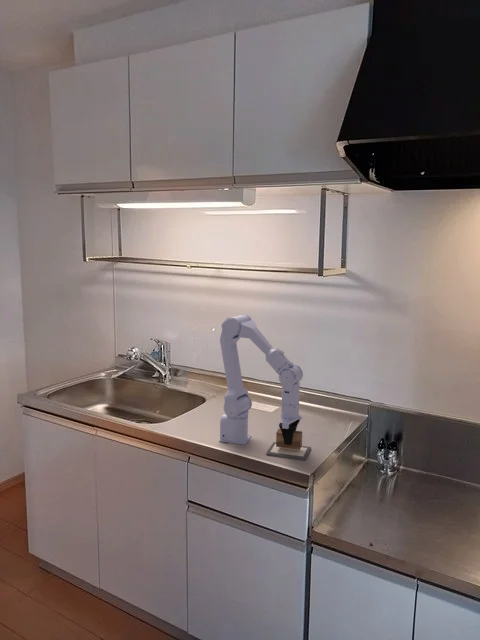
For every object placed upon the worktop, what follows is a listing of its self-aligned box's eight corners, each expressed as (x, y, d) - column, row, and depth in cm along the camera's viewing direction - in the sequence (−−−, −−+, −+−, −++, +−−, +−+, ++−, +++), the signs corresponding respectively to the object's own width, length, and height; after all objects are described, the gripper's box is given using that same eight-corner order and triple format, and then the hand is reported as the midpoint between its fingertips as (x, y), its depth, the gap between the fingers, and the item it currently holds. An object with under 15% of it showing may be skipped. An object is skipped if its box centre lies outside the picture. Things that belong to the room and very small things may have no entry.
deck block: (299, 449, 168) (300, 435, 167) (276, 446, 170) (276, 432, 170) (301, 445, 171) (302, 431, 171) (278, 442, 174) (278, 428, 173)
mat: (266, 455, 168) (266, 453, 168) (273, 443, 178) (273, 441, 178) (305, 460, 165) (305, 458, 165) (310, 448, 174) (310, 446, 174)
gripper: (298, 410, 161) (296, 452, 163) (306, 397, 174) (305, 435, 176) (276, 408, 163) (275, 449, 165) (285, 395, 176) (284, 433, 178)
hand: (289, 442), depth 171 cm, fingers closed on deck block, 3 cm apart
